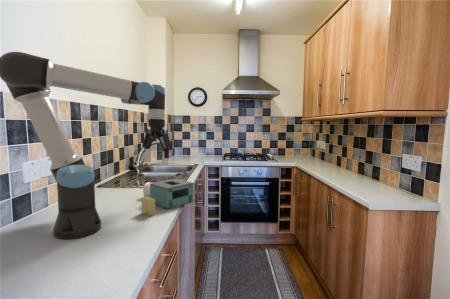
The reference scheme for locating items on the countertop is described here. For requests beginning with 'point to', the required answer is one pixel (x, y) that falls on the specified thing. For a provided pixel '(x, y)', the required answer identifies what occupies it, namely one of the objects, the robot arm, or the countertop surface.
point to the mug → (146, 189)
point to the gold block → (148, 206)
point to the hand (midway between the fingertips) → (156, 163)
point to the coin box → (171, 193)
